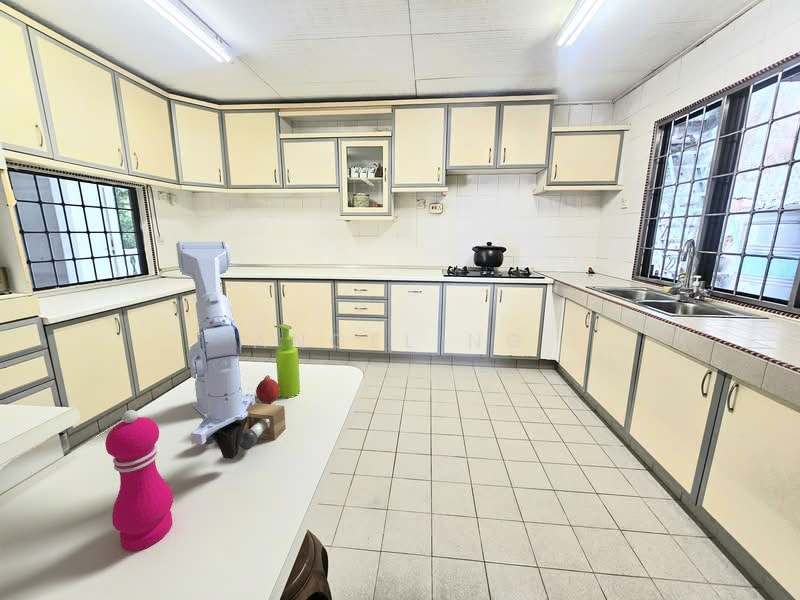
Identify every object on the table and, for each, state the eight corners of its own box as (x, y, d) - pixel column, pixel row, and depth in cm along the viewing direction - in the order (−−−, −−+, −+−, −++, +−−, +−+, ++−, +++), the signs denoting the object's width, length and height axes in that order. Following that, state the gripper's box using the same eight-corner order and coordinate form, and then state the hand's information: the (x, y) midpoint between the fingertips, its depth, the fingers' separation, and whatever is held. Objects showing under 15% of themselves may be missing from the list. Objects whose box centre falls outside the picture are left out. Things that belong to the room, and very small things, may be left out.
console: (215, 432, 76) (213, 408, 75) (228, 421, 81) (226, 399, 80) (275, 440, 74) (273, 415, 73) (285, 428, 78) (284, 405, 77)
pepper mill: (138, 514, 54) (120, 399, 50) (186, 511, 54) (171, 397, 51) (103, 556, 47) (79, 426, 43) (158, 553, 47) (138, 423, 44)
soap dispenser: (289, 386, 101) (285, 321, 97) (304, 392, 97) (301, 325, 93) (272, 393, 96) (267, 325, 92) (286, 400, 92) (282, 329, 88)
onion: (272, 410, 86) (270, 381, 85) (252, 408, 87) (250, 379, 86) (284, 399, 92) (282, 372, 90) (265, 397, 93) (263, 370, 92)
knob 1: (199, 443, 70) (197, 427, 70) (220, 426, 76) (219, 412, 76) (214, 445, 70) (212, 429, 69) (234, 428, 76) (233, 414, 75)
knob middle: (231, 434, 73) (229, 419, 73) (249, 419, 79) (247, 405, 79) (246, 436, 73) (244, 421, 72) (262, 421, 79) (261, 407, 78)
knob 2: (237, 448, 69) (236, 432, 68) (255, 431, 75) (254, 416, 74) (253, 450, 68) (252, 434, 67) (270, 433, 74) (269, 418, 73)
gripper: (214, 411, 54) (222, 486, 56) (266, 375, 68) (270, 436, 70) (176, 407, 55) (186, 480, 57) (235, 373, 69) (240, 432, 71)
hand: (230, 456), depth 64 cm, fingers closed
